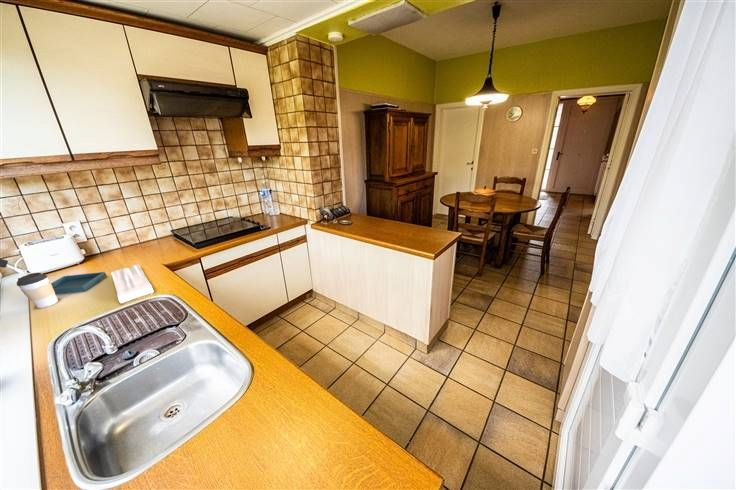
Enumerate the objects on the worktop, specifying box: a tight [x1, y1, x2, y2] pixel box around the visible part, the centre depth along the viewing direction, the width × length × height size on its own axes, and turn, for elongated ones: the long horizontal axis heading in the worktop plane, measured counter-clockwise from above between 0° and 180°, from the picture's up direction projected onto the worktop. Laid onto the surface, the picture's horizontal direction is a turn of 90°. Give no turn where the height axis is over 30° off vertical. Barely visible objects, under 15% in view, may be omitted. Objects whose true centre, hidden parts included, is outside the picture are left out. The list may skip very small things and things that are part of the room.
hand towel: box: [110, 263, 155, 305], centre depth 134 cm, size 12×4×40 cm
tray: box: [50, 271, 108, 296], centre depth 136 cm, size 20×15×3 cm
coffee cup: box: [16, 272, 59, 309], centre depth 119 cm, size 9×9×15 cm
